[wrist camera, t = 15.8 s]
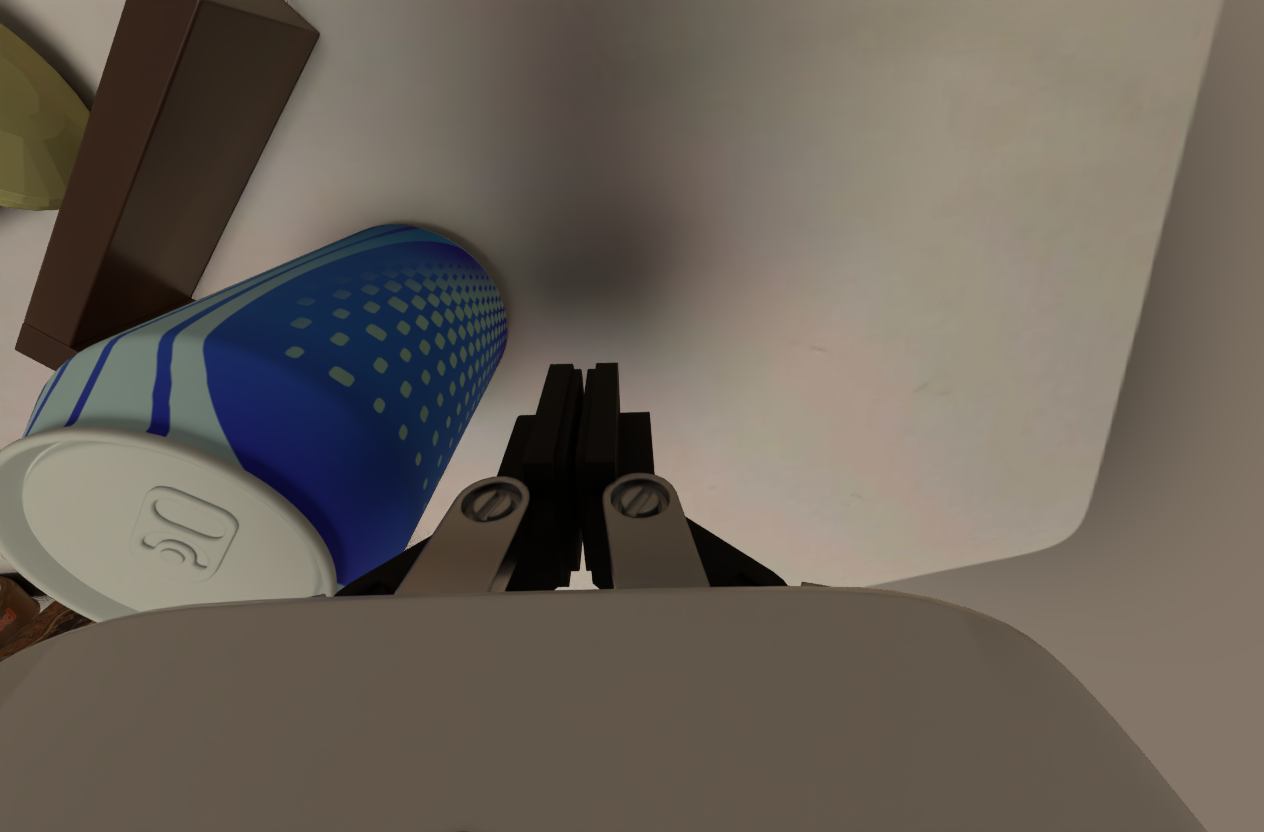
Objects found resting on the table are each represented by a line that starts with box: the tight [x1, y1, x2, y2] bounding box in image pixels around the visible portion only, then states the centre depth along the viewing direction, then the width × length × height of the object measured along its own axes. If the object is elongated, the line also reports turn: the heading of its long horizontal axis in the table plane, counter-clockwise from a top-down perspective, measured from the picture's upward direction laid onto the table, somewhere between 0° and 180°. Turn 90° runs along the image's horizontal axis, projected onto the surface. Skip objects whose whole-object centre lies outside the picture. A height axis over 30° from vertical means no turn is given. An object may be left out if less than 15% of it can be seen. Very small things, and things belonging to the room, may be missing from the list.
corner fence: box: [15, 0, 319, 371], centre depth 21 cm, size 16×16×6 cm
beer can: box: [0, 224, 507, 622], centre depth 17 cm, size 8×8×16 cm
